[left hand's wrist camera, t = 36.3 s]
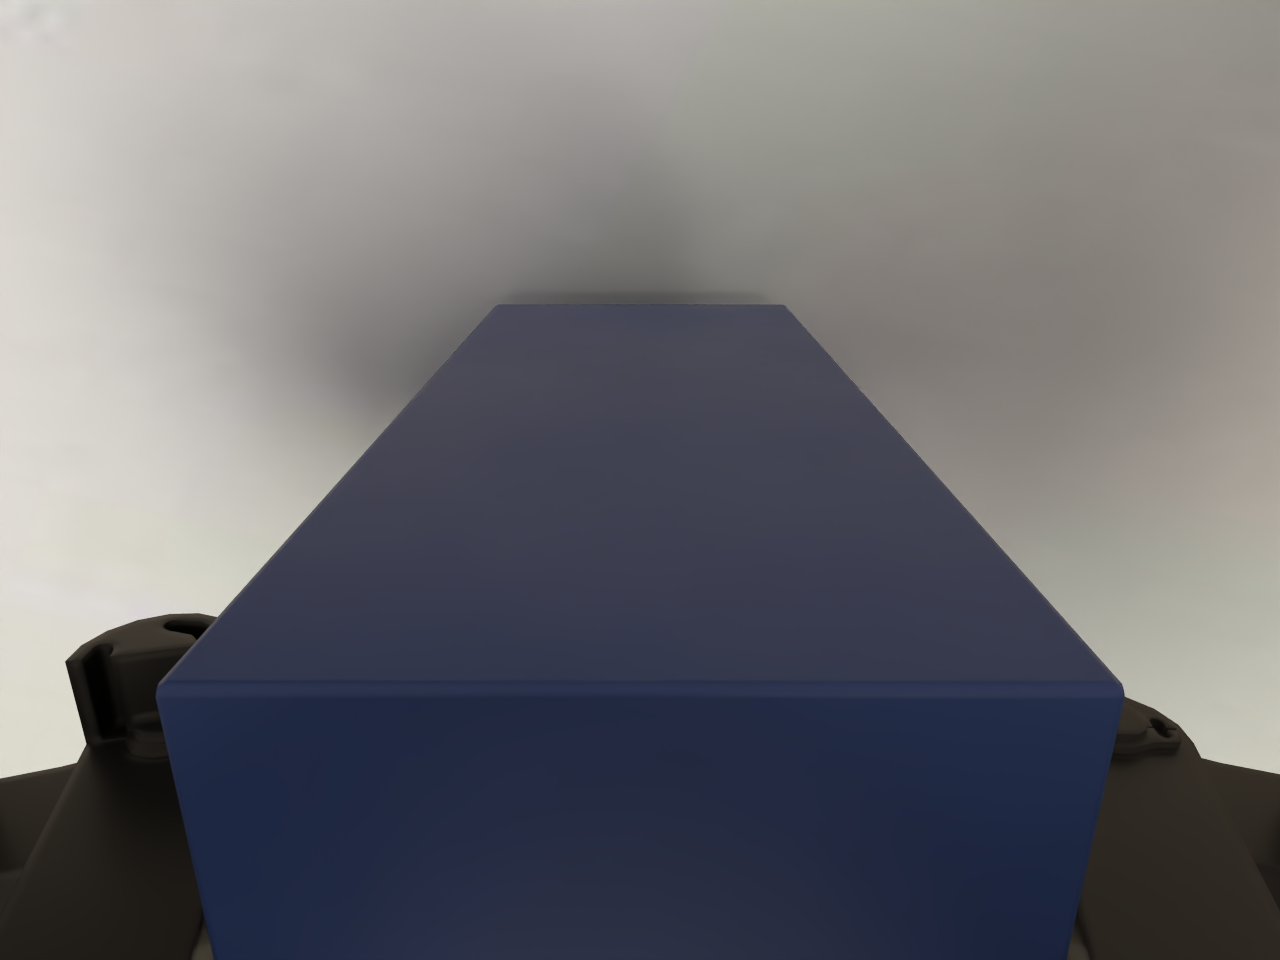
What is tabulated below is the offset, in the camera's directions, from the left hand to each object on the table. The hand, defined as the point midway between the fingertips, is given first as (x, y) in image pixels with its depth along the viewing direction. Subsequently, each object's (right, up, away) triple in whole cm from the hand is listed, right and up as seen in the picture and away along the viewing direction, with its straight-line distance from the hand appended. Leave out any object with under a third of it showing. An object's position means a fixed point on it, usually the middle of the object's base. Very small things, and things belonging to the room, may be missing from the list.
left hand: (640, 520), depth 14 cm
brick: (0, +1, +2) cm, 2 cm away
